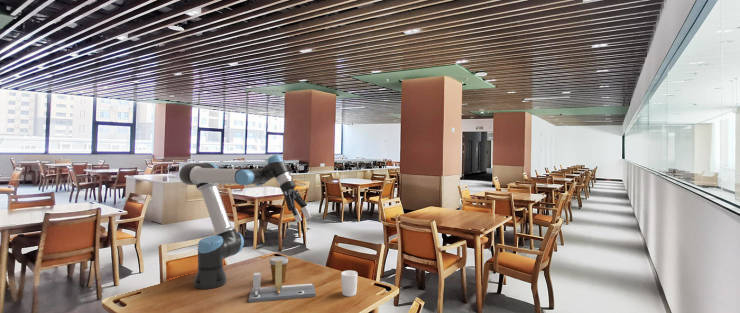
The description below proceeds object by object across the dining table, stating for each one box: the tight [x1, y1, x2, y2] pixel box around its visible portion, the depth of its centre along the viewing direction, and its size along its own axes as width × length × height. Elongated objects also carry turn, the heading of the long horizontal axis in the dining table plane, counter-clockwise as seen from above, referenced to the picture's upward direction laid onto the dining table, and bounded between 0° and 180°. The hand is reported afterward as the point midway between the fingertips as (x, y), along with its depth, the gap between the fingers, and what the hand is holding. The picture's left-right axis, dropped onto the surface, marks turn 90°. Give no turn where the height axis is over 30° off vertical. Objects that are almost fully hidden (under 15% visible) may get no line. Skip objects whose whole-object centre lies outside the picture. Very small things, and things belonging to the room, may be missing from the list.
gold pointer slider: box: [274, 260, 283, 294], centre depth 170 cm, size 3×8×13 cm, turn 14°
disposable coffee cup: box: [269, 255, 289, 284], centre depth 188 cm, size 10×10×12 cm
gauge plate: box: [248, 272, 317, 303], centre depth 171 cm, size 30×12×10 cm, turn 104°
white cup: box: [340, 269, 359, 297], centre depth 172 cm, size 8×8×10 cm
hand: (304, 219), depth 182 cm, fingers open, 13 cm apart
